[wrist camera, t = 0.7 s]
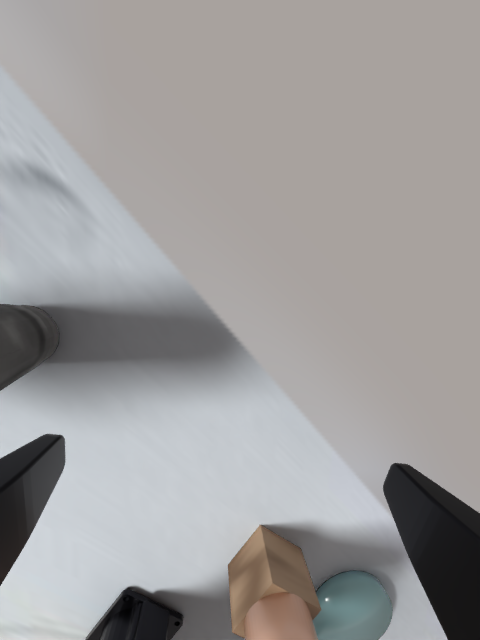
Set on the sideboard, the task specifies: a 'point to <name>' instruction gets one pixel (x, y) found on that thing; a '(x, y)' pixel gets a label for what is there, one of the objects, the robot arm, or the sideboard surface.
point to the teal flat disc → (352, 608)
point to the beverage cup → (24, 340)
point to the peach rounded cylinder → (279, 619)
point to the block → (267, 575)
